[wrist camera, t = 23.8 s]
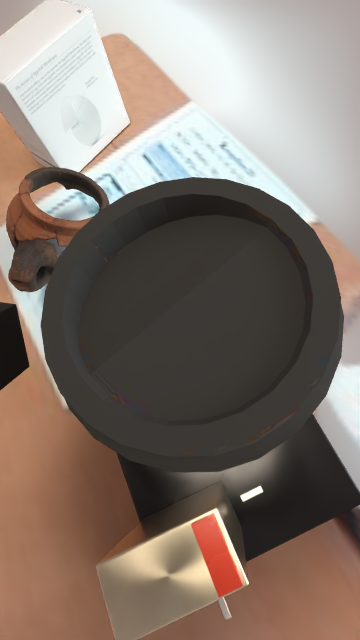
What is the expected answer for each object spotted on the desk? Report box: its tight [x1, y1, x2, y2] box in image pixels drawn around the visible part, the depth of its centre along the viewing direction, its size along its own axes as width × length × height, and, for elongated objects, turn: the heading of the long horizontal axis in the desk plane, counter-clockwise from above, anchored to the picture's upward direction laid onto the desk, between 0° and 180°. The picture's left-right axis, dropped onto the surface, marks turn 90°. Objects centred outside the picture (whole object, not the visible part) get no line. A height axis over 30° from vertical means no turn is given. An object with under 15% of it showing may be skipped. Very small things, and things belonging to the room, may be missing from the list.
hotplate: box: [117, 414, 360, 620], centre depth 22 cm, size 18×15×3 cm
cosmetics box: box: [0, 0, 130, 172], centre depth 31 cm, size 10×6×10 cm, turn 140°
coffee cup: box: [41, 177, 344, 473], centre depth 14 cm, size 8×8×15 cm
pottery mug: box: [6, 167, 109, 292], centre depth 28 cm, size 12×9×8 cm
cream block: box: [96, 482, 249, 640], centre depth 15 cm, size 6×3×8 cm, turn 114°
